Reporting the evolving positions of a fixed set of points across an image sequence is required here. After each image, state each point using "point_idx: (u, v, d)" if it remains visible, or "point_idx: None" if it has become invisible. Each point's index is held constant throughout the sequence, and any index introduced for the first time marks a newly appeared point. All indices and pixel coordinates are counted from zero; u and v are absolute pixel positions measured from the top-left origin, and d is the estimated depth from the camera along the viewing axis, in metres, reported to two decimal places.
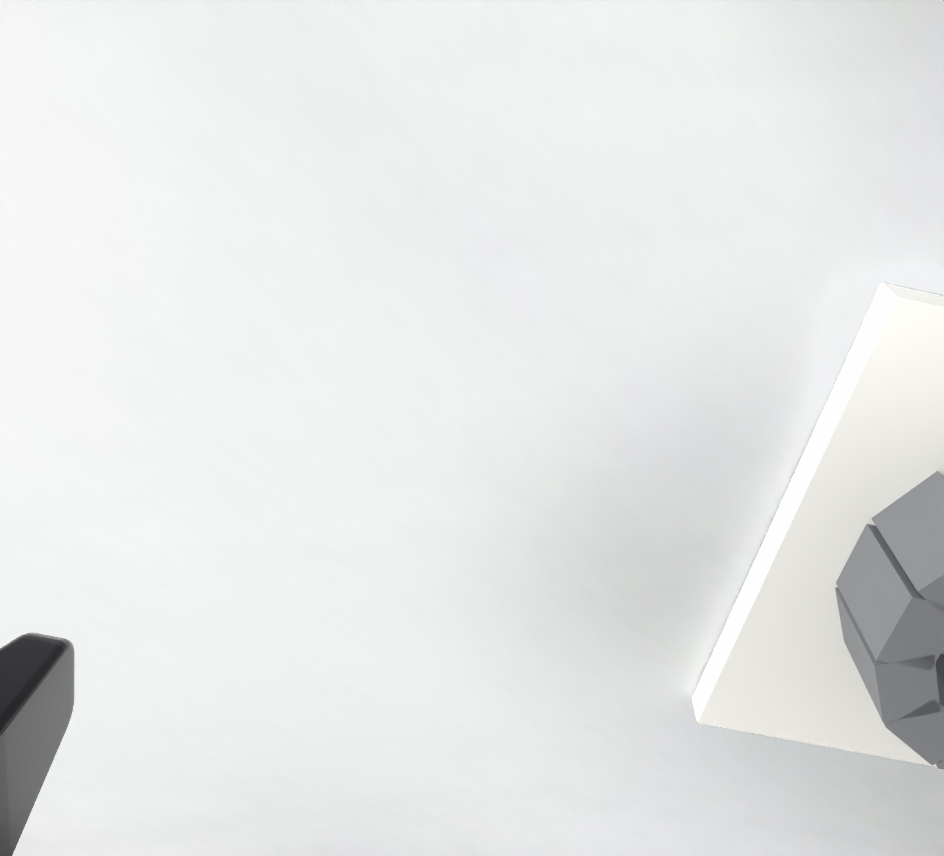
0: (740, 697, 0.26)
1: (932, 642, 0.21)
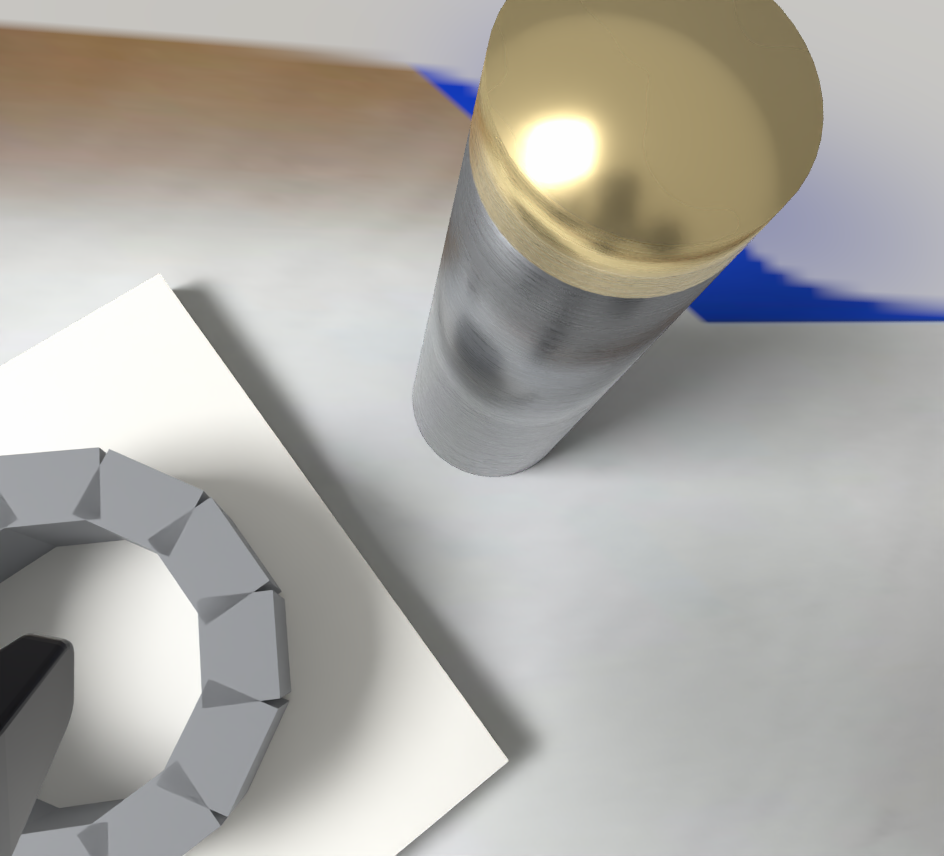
0: None
1: None
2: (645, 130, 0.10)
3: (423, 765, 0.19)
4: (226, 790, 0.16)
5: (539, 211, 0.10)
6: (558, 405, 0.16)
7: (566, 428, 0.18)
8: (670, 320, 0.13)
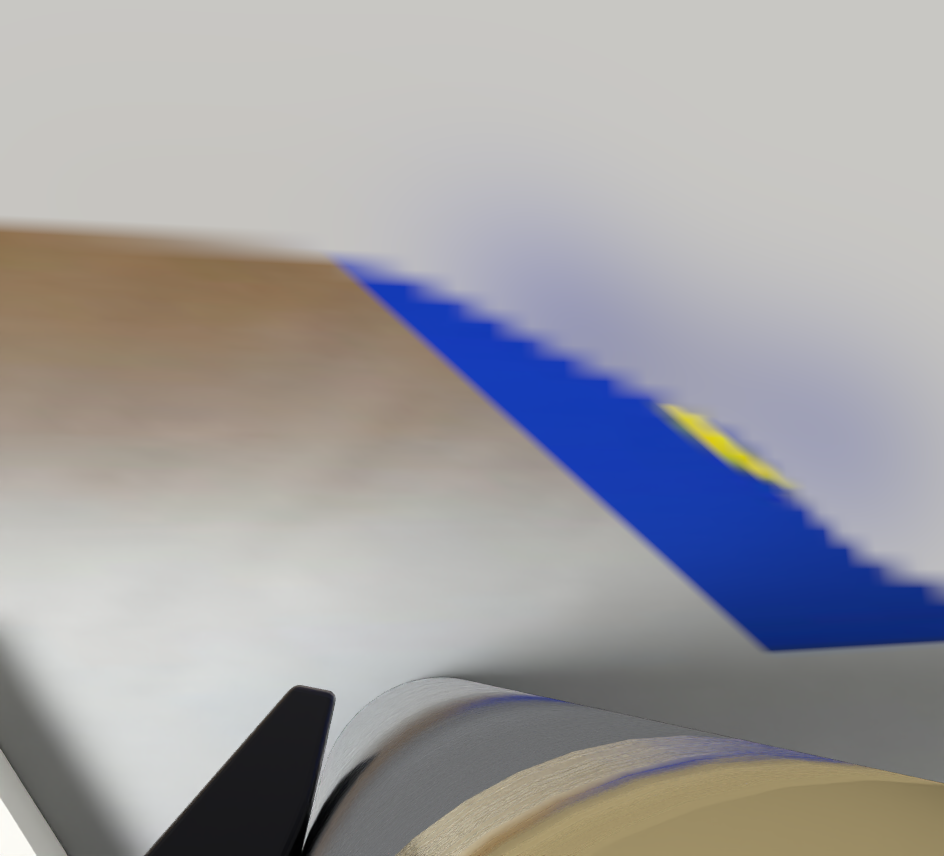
0: None
1: None
2: None
3: None
4: None
5: None
6: None
7: None
8: None
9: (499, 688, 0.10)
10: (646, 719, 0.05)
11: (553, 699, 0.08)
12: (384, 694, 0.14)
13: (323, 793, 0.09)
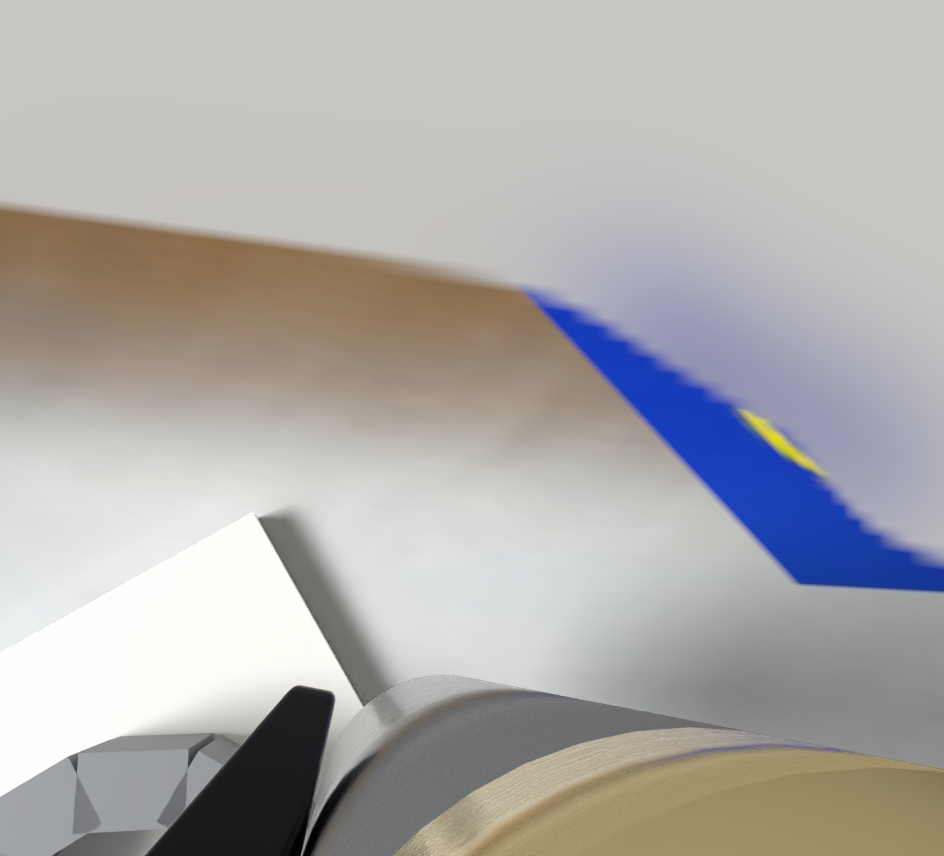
0: None
1: None
2: None
3: None
4: None
5: None
6: None
7: None
8: None
9: (502, 685, 0.10)
10: (651, 713, 0.05)
11: (557, 695, 0.08)
12: (386, 692, 0.14)
13: (326, 789, 0.09)
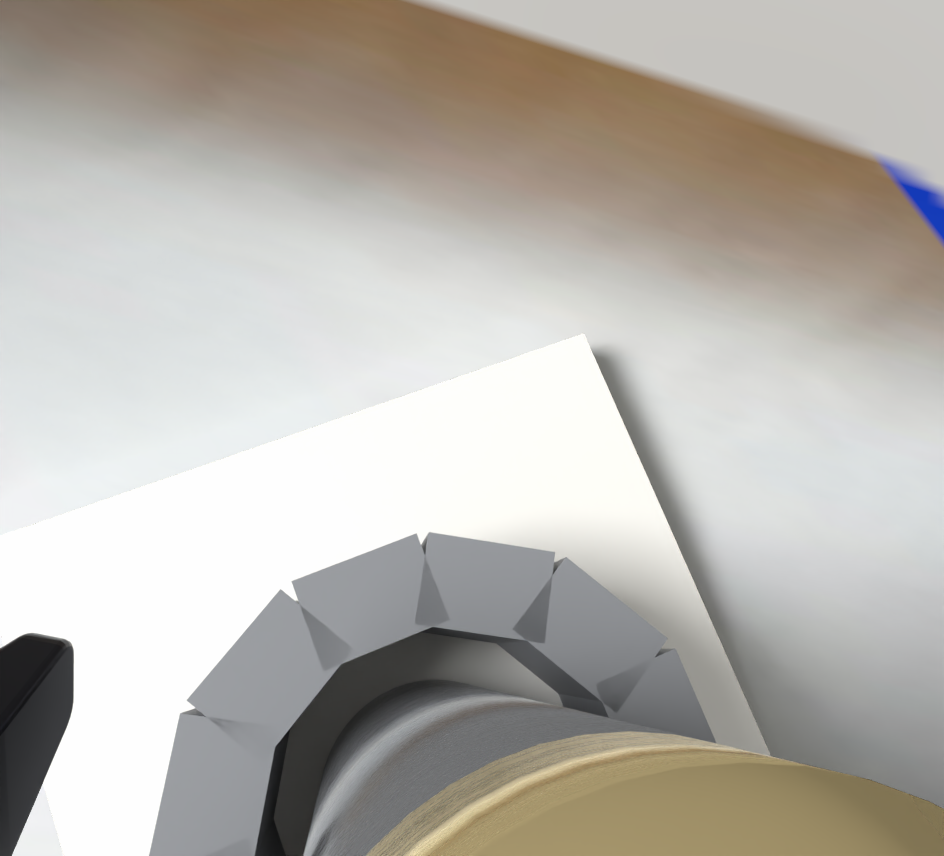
0: None
1: None
2: None
3: None
4: None
5: None
6: None
7: None
8: None
9: (488, 690, 0.11)
10: (608, 718, 0.06)
11: (534, 701, 0.09)
12: (382, 695, 0.15)
13: (327, 786, 0.10)
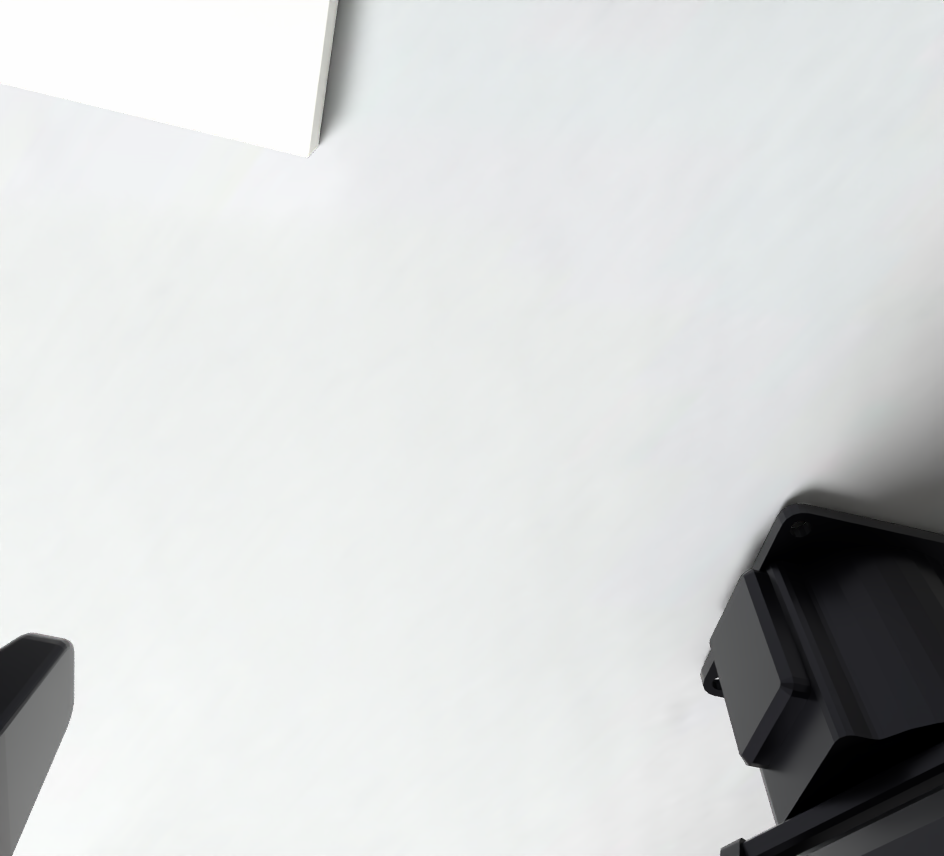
0: (246, 96, 0.17)
1: None
2: None
3: None
4: None
5: None
6: None
7: None
8: None
9: None
10: None
11: None
12: None
13: None
